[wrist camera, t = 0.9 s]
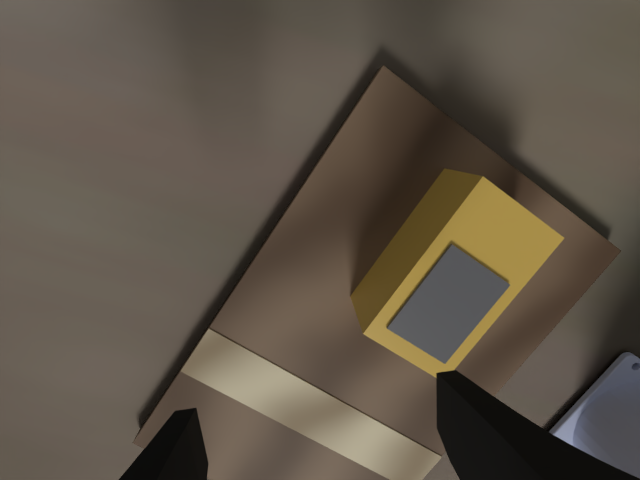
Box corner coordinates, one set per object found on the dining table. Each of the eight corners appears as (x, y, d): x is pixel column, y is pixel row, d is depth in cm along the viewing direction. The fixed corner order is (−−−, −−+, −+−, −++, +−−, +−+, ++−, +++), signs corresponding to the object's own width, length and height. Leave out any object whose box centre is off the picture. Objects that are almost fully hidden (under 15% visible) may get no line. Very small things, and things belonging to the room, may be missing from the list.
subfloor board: (606, 245, 21) (622, 251, 20) (357, 533, 26) (360, 549, 25) (378, 68, 18) (383, 64, 17) (139, 430, 23) (131, 444, 22)
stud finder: (511, 218, 20) (567, 239, 16) (416, 337, 21) (445, 384, 17) (444, 168, 19) (484, 176, 15) (350, 296, 20) (363, 335, 16)
